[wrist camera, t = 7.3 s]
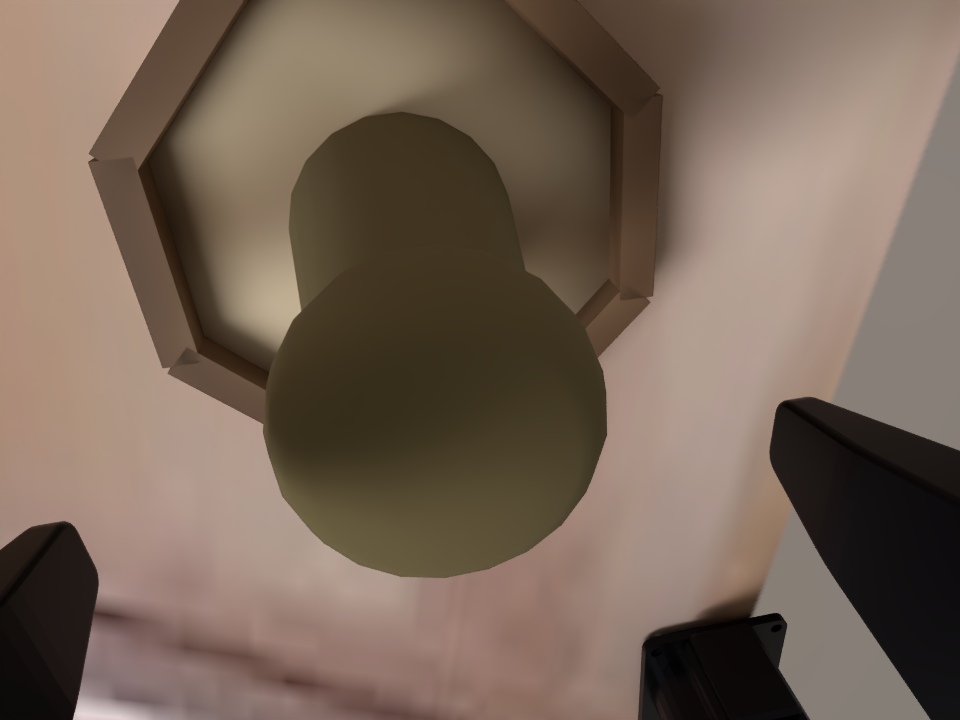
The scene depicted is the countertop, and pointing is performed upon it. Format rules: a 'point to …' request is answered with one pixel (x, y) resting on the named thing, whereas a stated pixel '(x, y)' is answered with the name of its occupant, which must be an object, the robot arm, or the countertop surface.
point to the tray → (340, 102)
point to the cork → (425, 361)
